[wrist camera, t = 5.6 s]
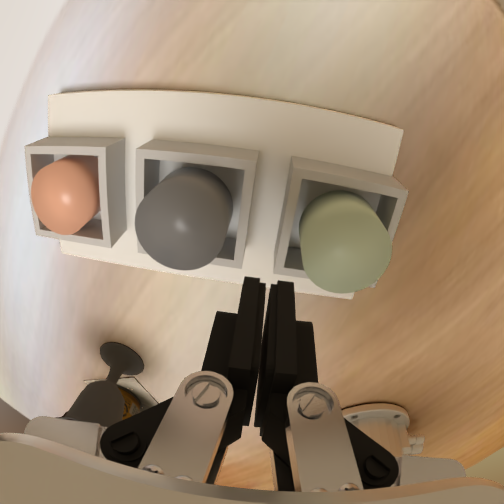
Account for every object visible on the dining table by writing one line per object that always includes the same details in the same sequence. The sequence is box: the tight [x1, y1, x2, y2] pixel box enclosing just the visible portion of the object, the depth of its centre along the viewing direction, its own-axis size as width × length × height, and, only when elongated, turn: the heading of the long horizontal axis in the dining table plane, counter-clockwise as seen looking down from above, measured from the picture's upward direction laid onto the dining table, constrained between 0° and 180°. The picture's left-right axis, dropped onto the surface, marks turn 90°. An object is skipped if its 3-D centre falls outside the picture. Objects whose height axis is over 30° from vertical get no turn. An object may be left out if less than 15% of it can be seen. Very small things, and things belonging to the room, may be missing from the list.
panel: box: [25, 89, 409, 299], centre depth 18 cm, size 22×12×4 cm, turn 83°
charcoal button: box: [135, 167, 233, 270], centre depth 16 cm, size 4×4×3 cm
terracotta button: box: [31, 155, 101, 235], centre depth 17 cm, size 4×4×3 cm
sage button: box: [299, 190, 392, 294], centre depth 16 cm, size 4×4×3 cm
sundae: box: [58, 342, 144, 427], centre depth 23 cm, size 7×7×15 cm
